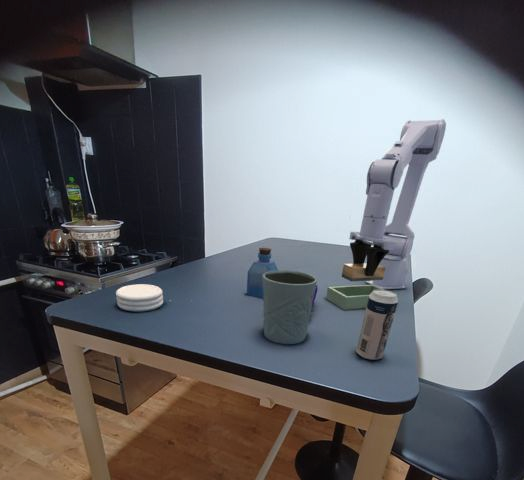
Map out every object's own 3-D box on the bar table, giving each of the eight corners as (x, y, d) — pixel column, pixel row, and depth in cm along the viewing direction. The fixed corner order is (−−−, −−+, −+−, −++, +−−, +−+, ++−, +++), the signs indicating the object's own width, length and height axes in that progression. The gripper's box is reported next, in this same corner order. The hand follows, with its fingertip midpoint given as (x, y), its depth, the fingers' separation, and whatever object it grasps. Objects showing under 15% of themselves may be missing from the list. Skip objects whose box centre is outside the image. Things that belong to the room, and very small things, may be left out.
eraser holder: (370, 295, 92) (372, 284, 91) (390, 305, 85) (393, 294, 84) (325, 298, 87) (327, 287, 85) (344, 309, 80) (346, 297, 78)
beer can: (383, 363, 56) (402, 299, 51) (356, 359, 57) (371, 295, 52) (380, 351, 61) (397, 290, 55) (355, 347, 61) (369, 287, 56)
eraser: (371, 275, 87) (374, 263, 85) (382, 280, 83) (385, 267, 82) (341, 276, 83) (343, 263, 82) (351, 281, 80) (353, 268, 78)
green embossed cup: (307, 349, 59) (316, 286, 54) (254, 341, 61) (258, 280, 55) (309, 328, 68) (317, 272, 63) (263, 322, 69) (267, 267, 64)
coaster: (146, 294, 80) (144, 281, 78) (172, 304, 75) (171, 290, 73) (108, 304, 73) (106, 289, 71) (135, 316, 68) (133, 300, 66)
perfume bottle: (276, 293, 88) (280, 248, 82) (267, 299, 83) (270, 252, 77) (257, 289, 90) (259, 245, 85) (246, 294, 85) (248, 248, 80)
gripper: (344, 213, 81) (334, 266, 87) (382, 220, 69) (368, 281, 75) (366, 214, 83) (355, 265, 90) (407, 221, 72) (391, 280, 78)
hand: (363, 273), depth 83 cm, fingers closed on eraser, 4 cm apart
